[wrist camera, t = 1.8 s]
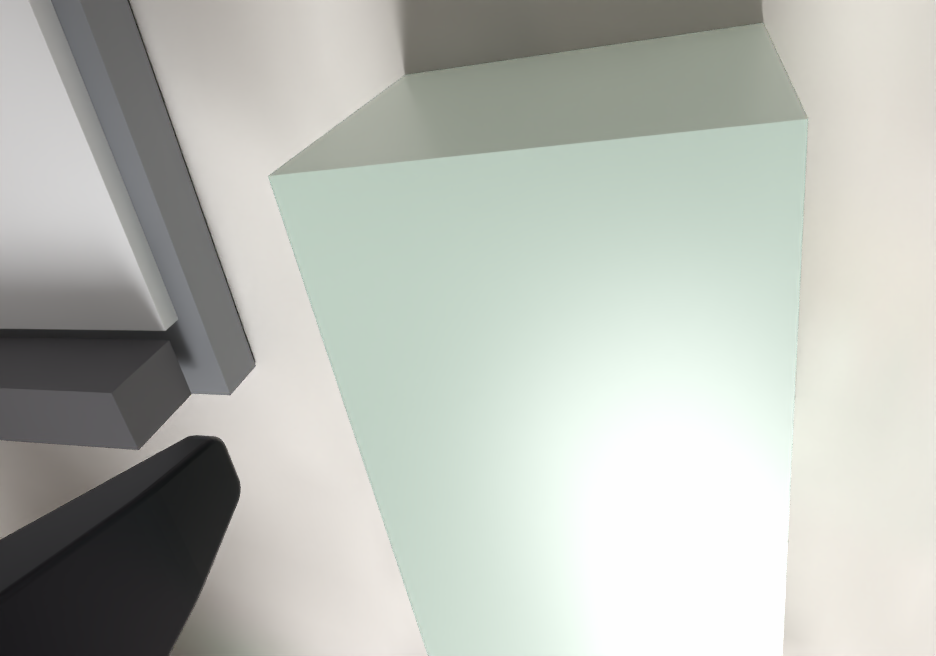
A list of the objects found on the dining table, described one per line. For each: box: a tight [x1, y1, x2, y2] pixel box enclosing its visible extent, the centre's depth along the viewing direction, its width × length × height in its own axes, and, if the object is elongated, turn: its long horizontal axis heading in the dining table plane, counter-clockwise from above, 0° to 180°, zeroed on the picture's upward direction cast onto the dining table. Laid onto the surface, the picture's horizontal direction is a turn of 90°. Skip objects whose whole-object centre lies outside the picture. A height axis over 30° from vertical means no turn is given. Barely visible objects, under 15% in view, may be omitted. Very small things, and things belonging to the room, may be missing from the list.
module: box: [268, 23, 808, 656], centre depth 10 cm, size 8×5×4 cm, turn 11°
